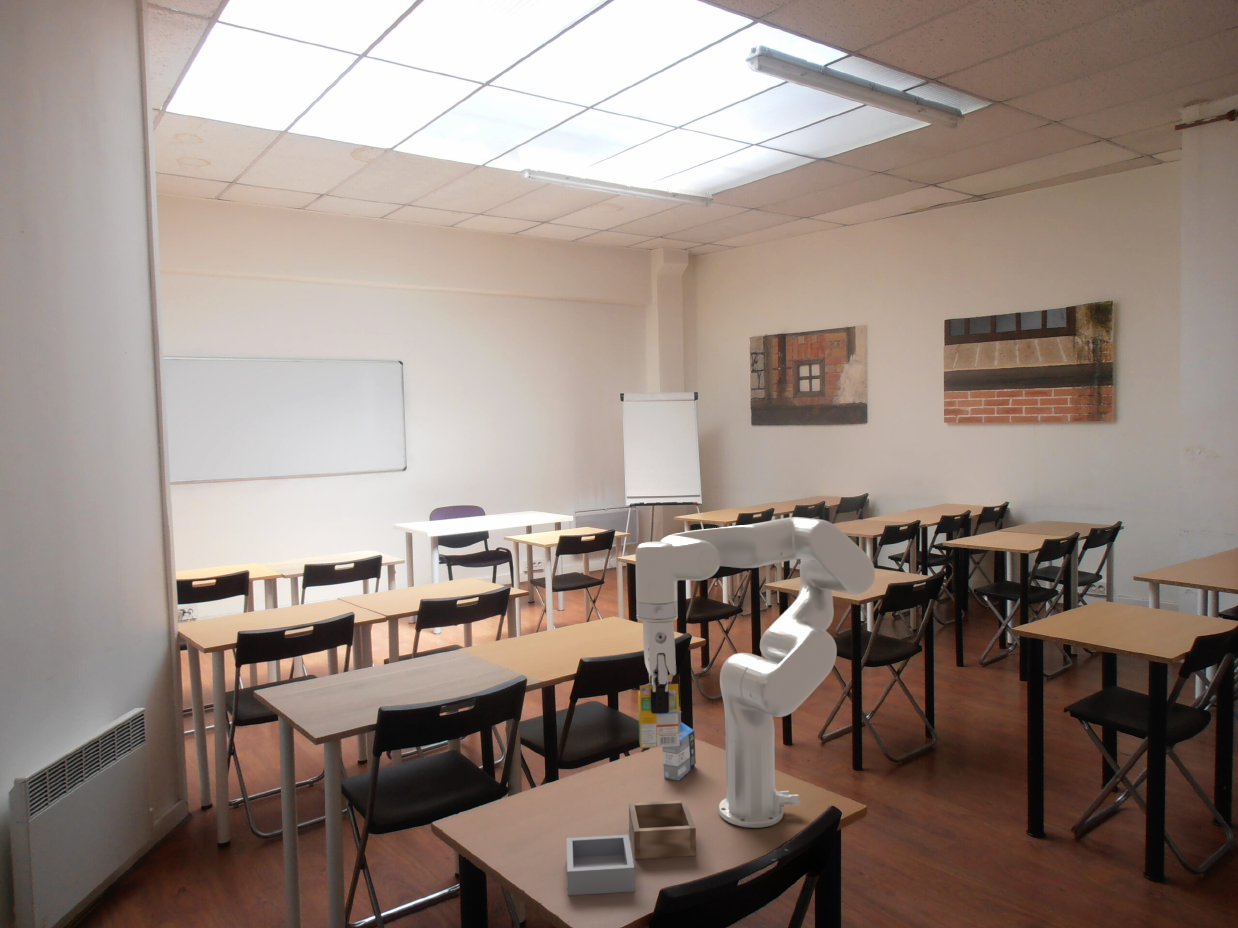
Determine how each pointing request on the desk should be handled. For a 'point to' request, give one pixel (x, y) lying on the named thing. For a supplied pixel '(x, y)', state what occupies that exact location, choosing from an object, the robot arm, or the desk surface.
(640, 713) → the crayon box
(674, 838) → the sleeve block
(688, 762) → the label tape box
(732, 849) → the desk surface
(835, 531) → the robot arm
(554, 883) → the desk surface
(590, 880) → the block
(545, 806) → the desk surface
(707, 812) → the desk surface
